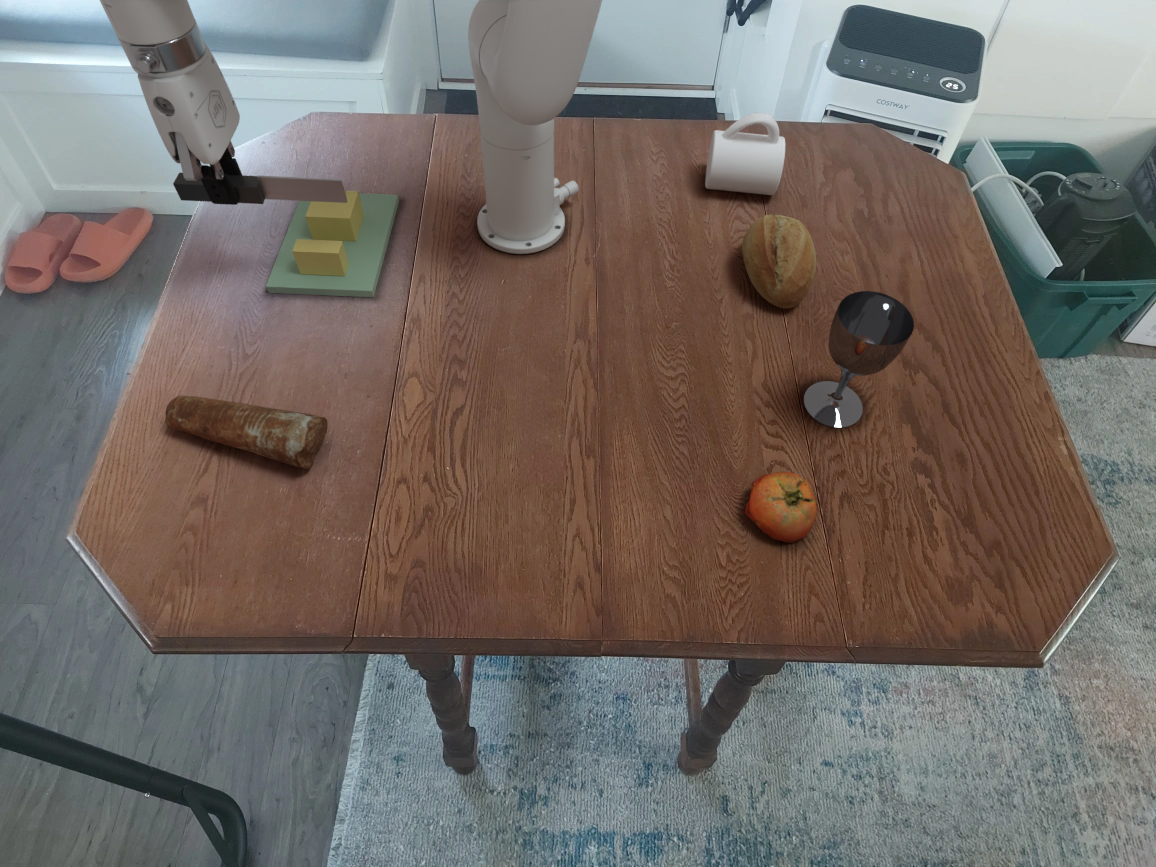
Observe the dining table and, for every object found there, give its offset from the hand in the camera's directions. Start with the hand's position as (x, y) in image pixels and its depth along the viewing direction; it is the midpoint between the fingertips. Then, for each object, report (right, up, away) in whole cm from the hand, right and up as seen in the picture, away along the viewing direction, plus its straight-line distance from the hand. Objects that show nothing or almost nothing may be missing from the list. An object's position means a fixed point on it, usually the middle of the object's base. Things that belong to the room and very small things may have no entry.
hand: (229, 194), depth 92 cm
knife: (+4, 0, 0) cm, 4 cm away
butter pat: (+8, -7, +10) cm, 15 cm away
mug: (+67, +9, +24) cm, 72 cm away
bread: (+5, -30, -5) cm, 31 cm away
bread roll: (+69, -8, +13) cm, 71 cm away
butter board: (+9, -3, +14) cm, 17 cm away
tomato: (+64, -38, -9) cm, 75 cm away
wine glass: (+73, -26, 0) cm, 78 cm away
